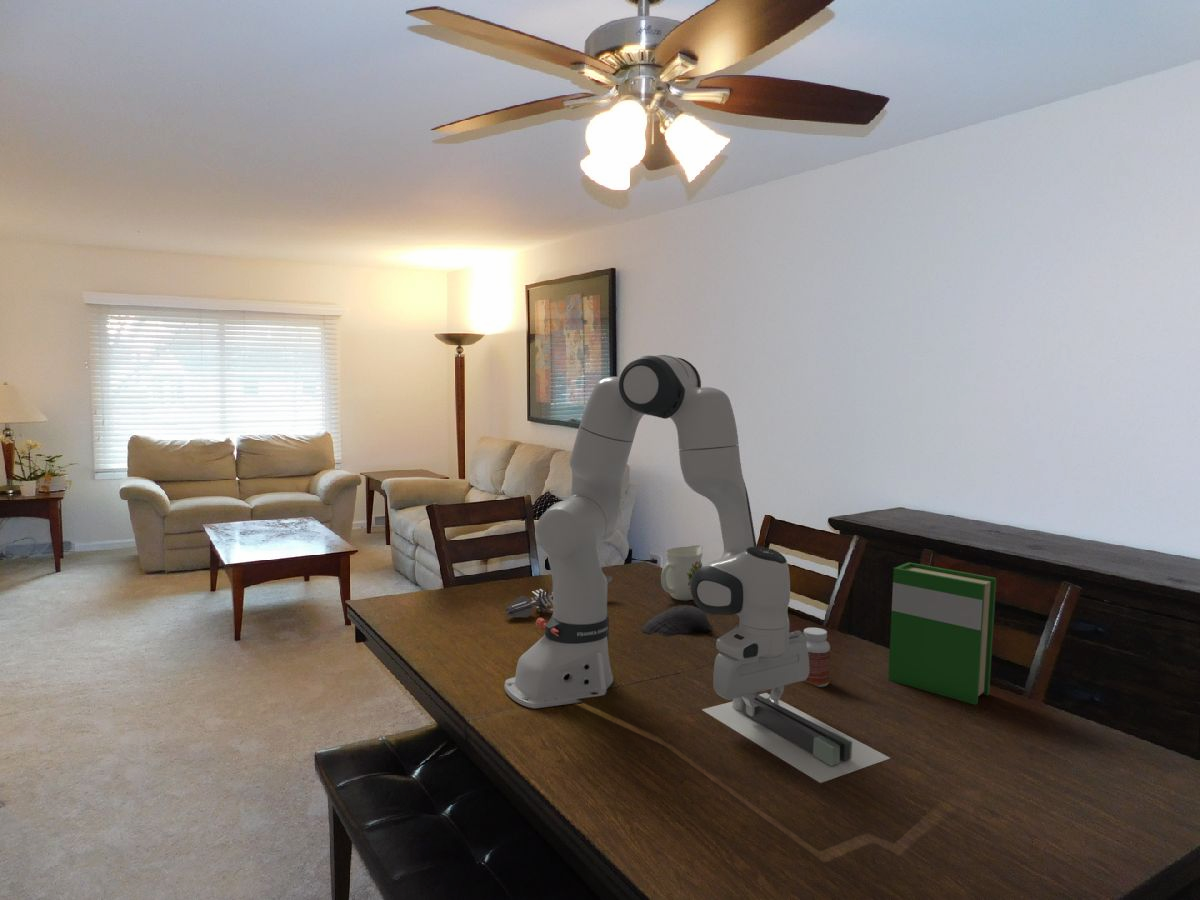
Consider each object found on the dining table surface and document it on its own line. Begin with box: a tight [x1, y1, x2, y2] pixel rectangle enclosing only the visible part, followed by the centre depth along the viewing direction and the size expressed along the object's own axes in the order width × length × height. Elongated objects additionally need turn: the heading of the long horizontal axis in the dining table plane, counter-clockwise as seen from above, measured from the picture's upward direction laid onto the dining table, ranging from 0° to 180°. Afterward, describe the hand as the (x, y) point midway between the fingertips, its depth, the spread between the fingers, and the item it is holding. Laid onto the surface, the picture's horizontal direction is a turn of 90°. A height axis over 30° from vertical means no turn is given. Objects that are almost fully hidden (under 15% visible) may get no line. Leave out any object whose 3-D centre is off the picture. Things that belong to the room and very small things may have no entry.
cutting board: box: [701, 692, 891, 784], centre depth 138 cm, size 16×30×1 cm, turn 30°
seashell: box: [641, 604, 714, 637], centre depth 195 cm, size 14×19×8 cm
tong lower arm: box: [731, 697, 840, 766], centre depth 137 cm, size 26×4×4 cm, turn 30°
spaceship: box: [504, 575, 613, 618], centre depth 211 cm, size 8×35×8 cm
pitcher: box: [660, 544, 704, 601], centre depth 222 cm, size 11×18×14 cm, turn 137°
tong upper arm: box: [754, 693, 852, 761], centre depth 136 cm, size 22×2×3 cm, turn 32°
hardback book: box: [887, 561, 997, 706], centre depth 160 cm, size 18×7×24 cm, turn 46°
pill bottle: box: [802, 627, 831, 688], centre depth 162 cm, size 6×6×11 cm
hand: (762, 711), depth 142 cm, fingers open, 3 cm apart
